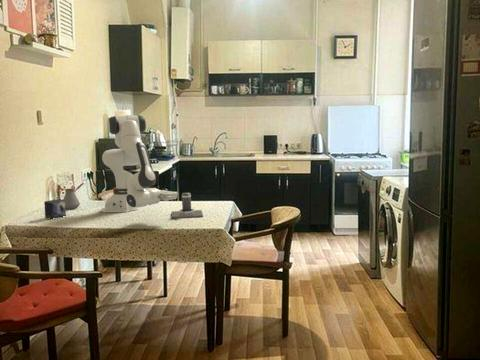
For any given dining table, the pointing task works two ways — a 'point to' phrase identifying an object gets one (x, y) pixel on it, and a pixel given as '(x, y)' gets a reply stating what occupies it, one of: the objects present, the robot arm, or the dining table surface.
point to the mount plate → (187, 214)
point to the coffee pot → (71, 198)
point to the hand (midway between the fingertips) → (171, 192)
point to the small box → (55, 208)
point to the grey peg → (186, 201)
